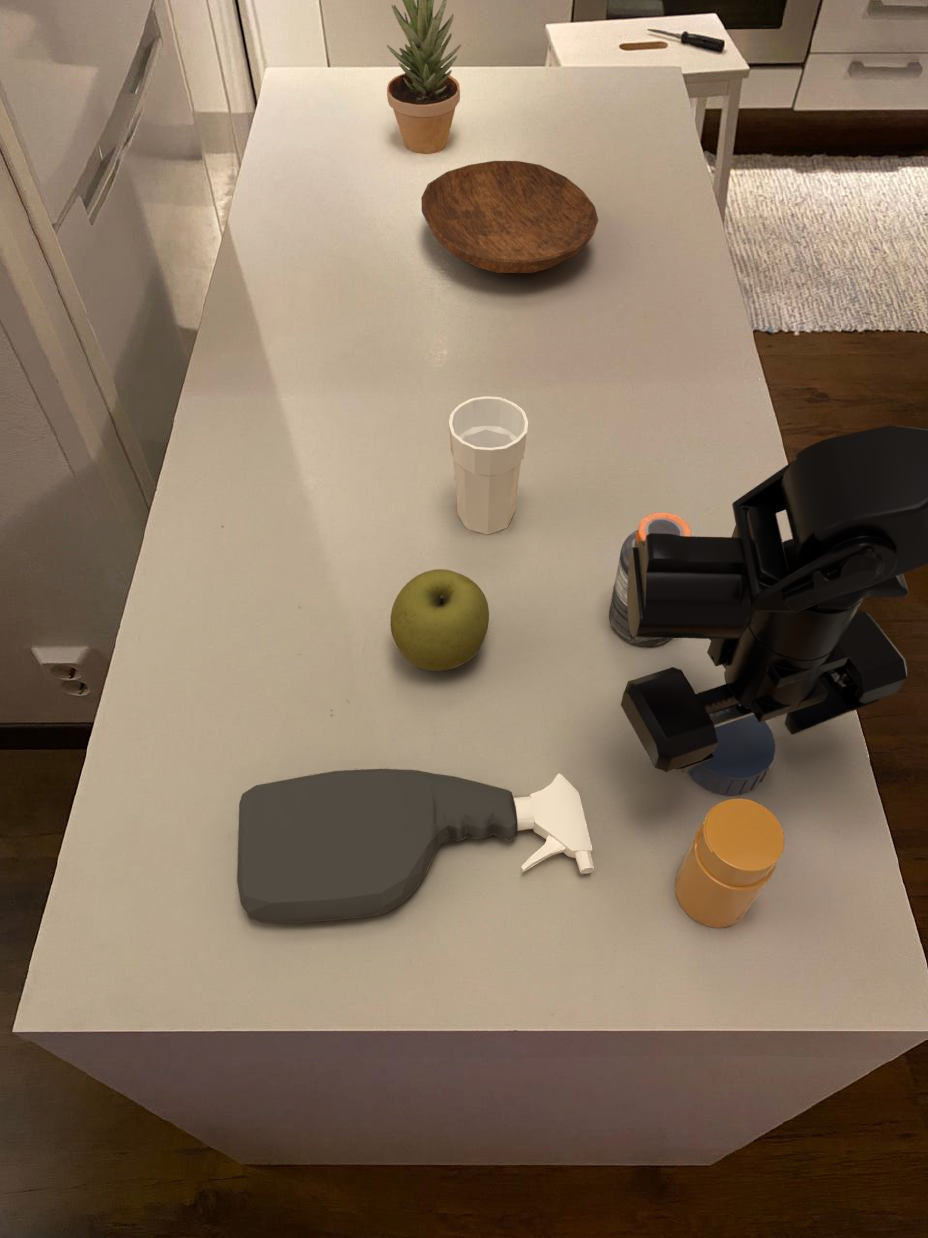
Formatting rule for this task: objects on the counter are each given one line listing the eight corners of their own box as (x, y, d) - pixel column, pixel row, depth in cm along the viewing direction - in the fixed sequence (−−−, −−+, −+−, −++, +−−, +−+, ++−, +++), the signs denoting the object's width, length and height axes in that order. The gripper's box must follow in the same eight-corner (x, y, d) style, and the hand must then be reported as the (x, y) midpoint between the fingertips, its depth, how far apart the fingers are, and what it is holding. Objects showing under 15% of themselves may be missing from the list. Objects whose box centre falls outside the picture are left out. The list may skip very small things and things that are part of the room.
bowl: (470, 317, 105) (470, 278, 101) (397, 219, 117) (394, 179, 113) (624, 275, 110) (630, 236, 106) (538, 184, 122) (541, 146, 118)
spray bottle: (244, 792, 71) (568, 759, 73) (241, 937, 64) (597, 898, 66) (237, 773, 68) (572, 740, 70) (233, 922, 62) (602, 881, 64)
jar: (726, 846, 68) (760, 784, 60) (764, 913, 65) (804, 857, 57) (661, 869, 67) (687, 810, 59) (697, 939, 64) (729, 886, 56)
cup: (488, 551, 85) (491, 462, 76) (435, 514, 87) (432, 423, 79) (536, 512, 88) (544, 421, 79) (483, 477, 90) (485, 385, 82)
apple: (507, 650, 78) (510, 597, 73) (433, 705, 75) (431, 654, 69) (447, 596, 82) (445, 541, 76) (374, 647, 79) (367, 593, 73)
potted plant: (381, 155, 127) (366, -61, 107) (400, 122, 132) (389, -90, 113) (454, 164, 125) (452, -54, 106) (470, 130, 131) (471, -83, 111)
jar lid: (665, 736, 73) (671, 717, 71) (737, 710, 75) (746, 691, 73) (707, 808, 70) (715, 791, 68) (783, 779, 71) (793, 761, 69)
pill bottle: (684, 603, 81) (712, 512, 72) (670, 656, 78) (698, 568, 69) (617, 585, 82) (635, 493, 73) (600, 637, 79) (617, 548, 70)
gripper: (849, 495, 64) (787, 630, 77) (599, 567, 61) (576, 697, 73) (953, 618, 58) (867, 744, 71) (682, 707, 54) (641, 823, 67)
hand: (736, 747), depth 70 cm, fingers open, 9 cm apart
